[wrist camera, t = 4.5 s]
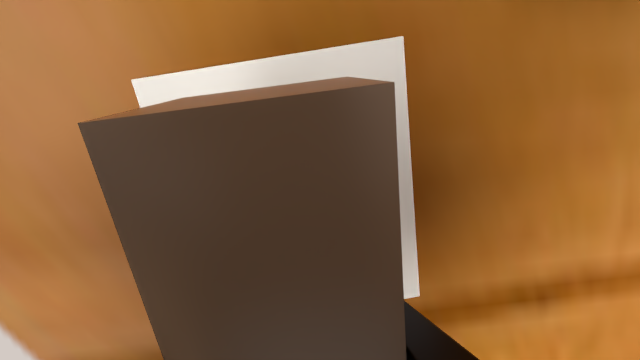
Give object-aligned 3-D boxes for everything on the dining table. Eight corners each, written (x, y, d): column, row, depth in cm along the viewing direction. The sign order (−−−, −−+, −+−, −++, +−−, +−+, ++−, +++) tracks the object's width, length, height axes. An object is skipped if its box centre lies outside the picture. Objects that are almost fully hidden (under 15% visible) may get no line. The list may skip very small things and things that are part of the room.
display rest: (396, 38, 15) (420, 30, 12) (413, 285, 20) (433, 321, 17) (141, 79, 15) (105, 80, 12) (218, 320, 20) (205, 362, 17)
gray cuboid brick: (182, 97, 8) (77, 122, 4) (347, 76, 8) (394, 82, 4) (268, 436, 12) (255, 611, 8) (377, 419, 12) (416, 582, 8)
